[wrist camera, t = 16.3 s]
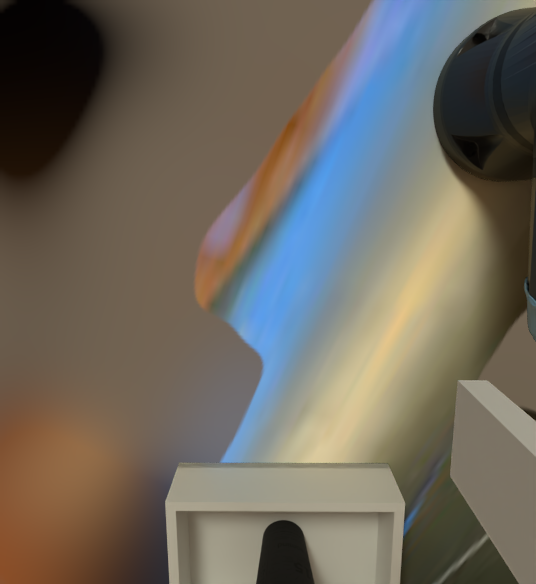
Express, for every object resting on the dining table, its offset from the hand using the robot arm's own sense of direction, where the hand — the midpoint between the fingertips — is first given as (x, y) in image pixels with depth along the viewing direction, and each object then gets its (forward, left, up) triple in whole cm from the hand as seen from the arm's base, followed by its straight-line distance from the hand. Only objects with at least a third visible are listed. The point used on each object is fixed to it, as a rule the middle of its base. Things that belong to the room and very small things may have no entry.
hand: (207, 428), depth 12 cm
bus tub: (-3, +33, -37) cm, 49 cm away
